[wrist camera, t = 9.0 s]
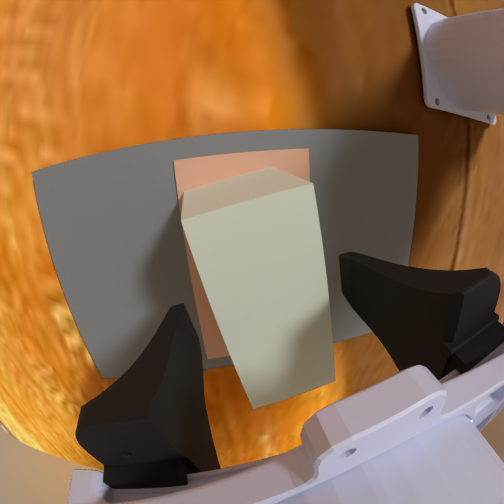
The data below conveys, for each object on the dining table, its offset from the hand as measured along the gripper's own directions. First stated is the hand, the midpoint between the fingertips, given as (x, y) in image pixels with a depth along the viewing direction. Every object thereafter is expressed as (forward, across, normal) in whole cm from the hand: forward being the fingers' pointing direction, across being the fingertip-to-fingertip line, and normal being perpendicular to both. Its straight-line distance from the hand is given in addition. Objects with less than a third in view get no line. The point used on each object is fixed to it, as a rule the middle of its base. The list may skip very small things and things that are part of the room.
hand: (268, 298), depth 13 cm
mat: (+4, 0, 0) cm, 4 cm away
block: (+3, 0, 0) cm, 3 cm away
